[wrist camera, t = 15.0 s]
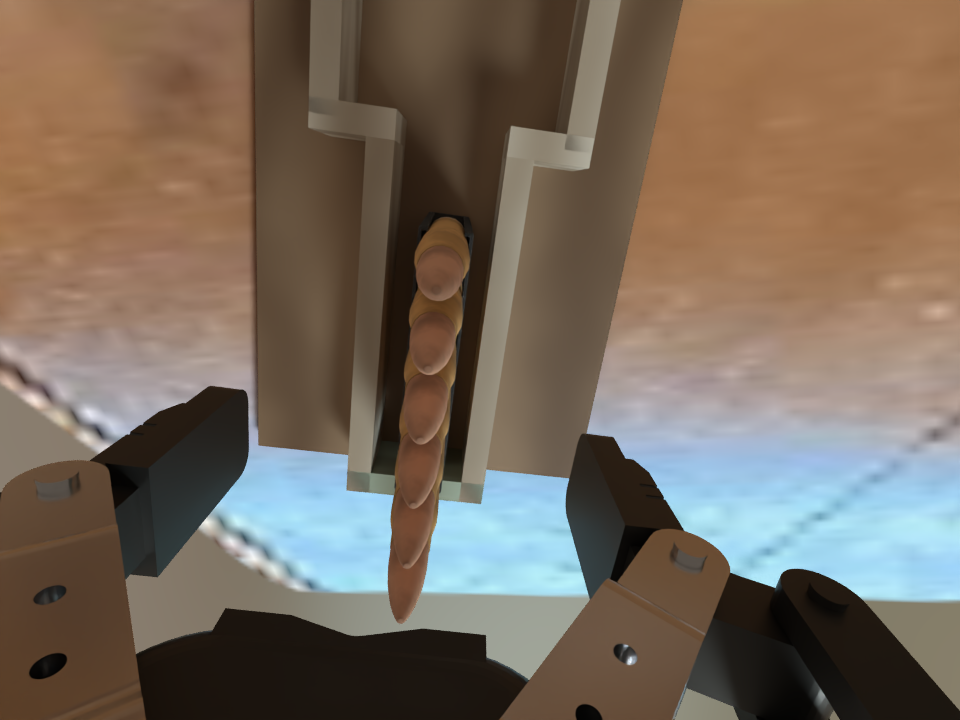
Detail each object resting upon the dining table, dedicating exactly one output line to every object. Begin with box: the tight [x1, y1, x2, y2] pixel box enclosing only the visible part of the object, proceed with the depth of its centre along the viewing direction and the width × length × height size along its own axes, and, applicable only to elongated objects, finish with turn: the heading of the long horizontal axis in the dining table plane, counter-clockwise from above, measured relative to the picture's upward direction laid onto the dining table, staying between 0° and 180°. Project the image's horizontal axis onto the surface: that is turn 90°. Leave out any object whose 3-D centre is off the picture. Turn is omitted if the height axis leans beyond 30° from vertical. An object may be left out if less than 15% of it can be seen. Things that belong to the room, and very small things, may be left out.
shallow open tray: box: [254, 0, 683, 504], centre depth 19 cm, size 16×30×4 cm, turn 172°
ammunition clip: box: [388, 212, 474, 624], centre depth 17 cm, size 11×2×12 cm, turn 172°
